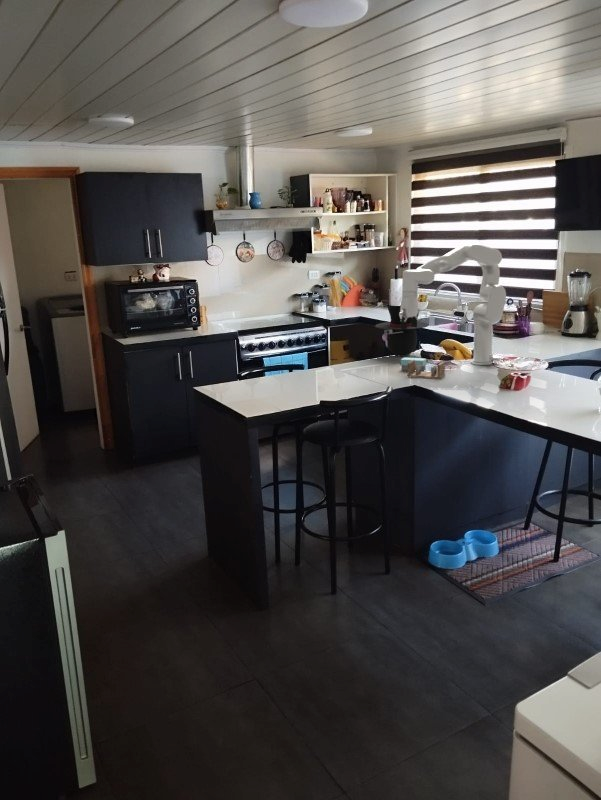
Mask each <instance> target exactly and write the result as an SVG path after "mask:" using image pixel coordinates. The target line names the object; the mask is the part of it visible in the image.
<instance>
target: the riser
mask: <svg viewBox="0 0 601 800" xmlns="http://www.w3.org/2000/svg"><path fill="white" fill-rule="evenodd" d="M426 365H427V364H426ZM426 365H424V366H421V372H422V371H424V370H425V371H426V367H427V366H426ZM406 370H408V365H401V371H406ZM415 370H416V366H415ZM425 371H424V372H425Z"/></svg>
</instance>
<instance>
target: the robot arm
mask: <svg viewBox="0 0 601 800" xmlns="http://www.w3.org/2000/svg"><path fill="white" fill-rule="evenodd" d="M502 256H503V255H502V252H501V251H500V250H499V249H497V248H495V247H494V248H493V247H490V246H486V245H483V244H480V243H478V242H477V243H476V242H465V243H462V244H461V245H458V247H455V248H454V249H452V250H450V251H449V252H447V253H445V254H444V255H442V256H439V257H437V258H434V259H432V260H430V261H428V262H426V263H423V264H422V265H420V266H418V267H417V268H416V269H404V271H403V272H402V298H401V301H400V306H401V307H400V313H399V316H400V321H401V329H405V330H406V329H407V322H406V320H407V318H408V317H412V319H411V327H417V322H418V319H419V314H420V310H419V309H418V308H419V304H418V303H419V302H418V287H419V286H418V285H420V284H422V285H429V284H431V283H433V281H434V280H435V275H437V274H442V273H446V272H449V271H452V270H454V269H456V268H458V267H459V266H461V265H462V264H465V263H466V262H468V261H474V262H477V264H479V266H480V268H481V270H482V278H481V283H480V288H479V294H478V295H479V298H480V300H482V301H484V302H486V303H487V304H486V303H481V304H478V305H476V307H474V309H473V312H472V319H473V324H474V326H473V327H474V328H473V331H474V332H473V359H470V364H472V365H475V366H488V365H489V366H490V365H493V364H492V363H493V361H495V362H496V361H497V362H499V361H501V357H499V356H494V353H493V338H494V337H493V335H494V333H493V332H494V331H493V330H494V328H493V325H496V324H498V323H500V321H501V319H502V317H503V314H504V310H505V309H504V308H505V305H506V304H505V303H506V300H507V291H506V288H505V287H504V286H502V285H501V284H499V282H500V276H501V275H500V274H501V270H500V266H499V264H500V263H501V262H502V260H503V257H502ZM404 318H405V319H404Z"/></svg>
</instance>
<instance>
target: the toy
mask: <svg viewBox="0 0 601 800" xmlns="http://www.w3.org/2000/svg"><path fill="white" fill-rule="evenodd" d="M400 307H401V305H396V306H390V307H388V308H387V309H388V313H389V317H390V321H387V322H381V323H378V324H375V325H374V327H375V328H377V329H379V330H380V329H381V330H384V333H383V334H382V335H381V336H382V340H383V341H384V342H385V347H386V348H387V349H388V350H389V352H390V353H392V354H393V355H395V356H397V357H406V356H409V355H411V354H413V352H414V351H415V349H416V348H417V343H418V334H417V331H416V330H419V329H424V328H427V327H429V323H427V322H425V321H424V322H422V321H417V327H411V319H412V317H408V318H407V320H406V322H407V329H406V330H405V329H401V321H400V316H399V313H400ZM404 319H405V318H404ZM398 355H400V356H398Z"/></svg>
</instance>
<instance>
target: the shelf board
mask: <svg viewBox="0 0 601 800" xmlns="http://www.w3.org/2000/svg"><path fill="white" fill-rule="evenodd" d="M412 360H415V366H418V365H421V366H424V365H427V358H422V357H421V358H420V357H406V356H403V357H402V358H401V359H400V366H402V365H408V363H409V362H410V361H412Z"/></svg>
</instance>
